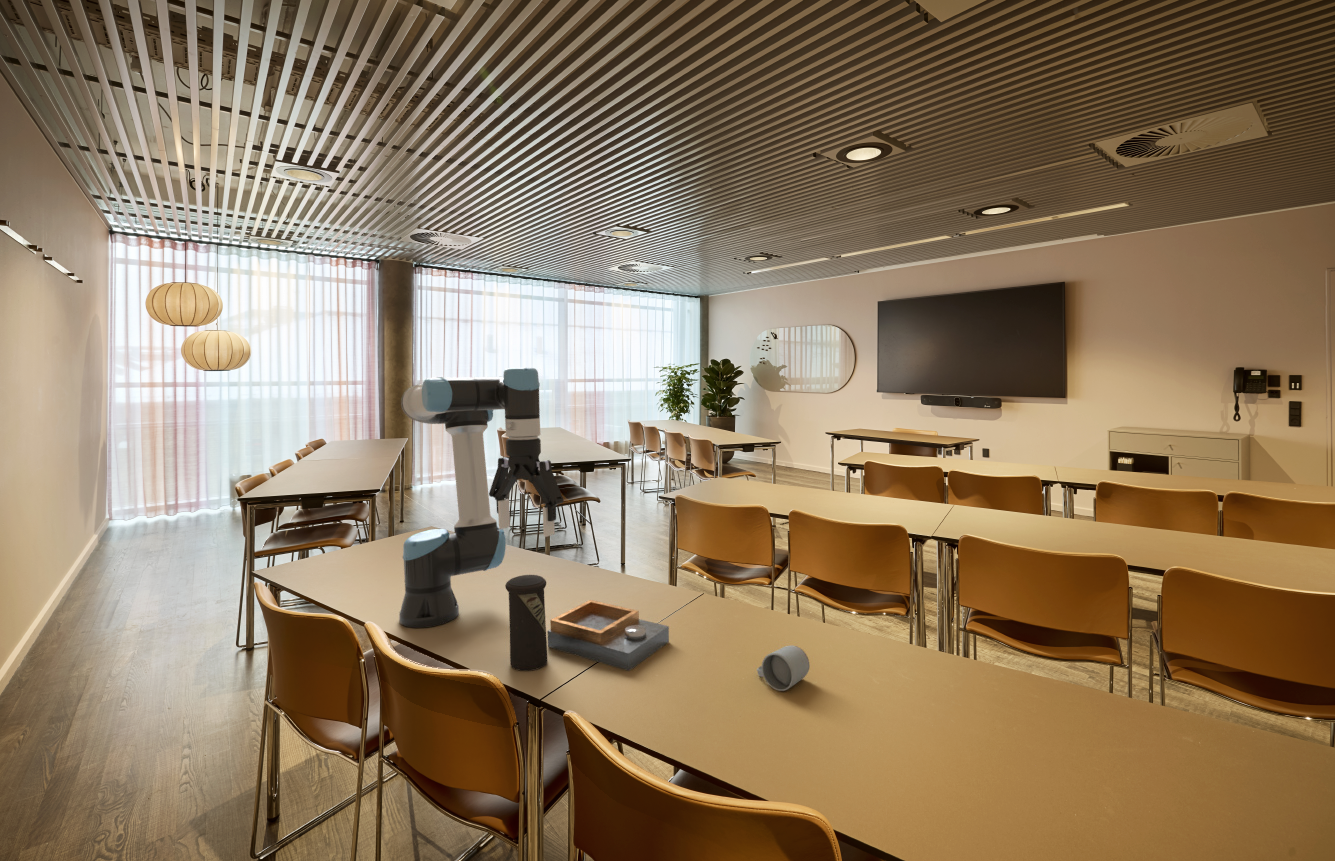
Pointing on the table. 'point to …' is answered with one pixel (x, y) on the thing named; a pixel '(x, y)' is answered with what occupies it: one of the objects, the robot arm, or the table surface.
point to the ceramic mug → (784, 667)
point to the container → (527, 622)
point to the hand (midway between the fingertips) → (526, 531)
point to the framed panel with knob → (607, 634)
